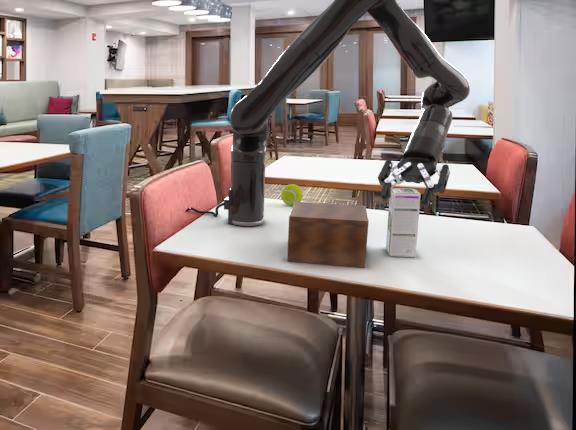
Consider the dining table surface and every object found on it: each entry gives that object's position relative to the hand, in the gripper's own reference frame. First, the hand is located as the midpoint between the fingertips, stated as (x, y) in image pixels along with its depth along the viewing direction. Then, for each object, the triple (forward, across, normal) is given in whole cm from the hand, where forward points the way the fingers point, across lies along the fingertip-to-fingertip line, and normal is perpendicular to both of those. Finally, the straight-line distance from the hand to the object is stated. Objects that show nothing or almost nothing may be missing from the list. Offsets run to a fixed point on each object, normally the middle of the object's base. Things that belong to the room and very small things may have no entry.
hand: (403, 202), depth 118 cm
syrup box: (+8, 0, +9) cm, 12 cm away
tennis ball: (-11, -44, +28) cm, 53 cm away
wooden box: (+16, -12, +1) cm, 20 cm away
